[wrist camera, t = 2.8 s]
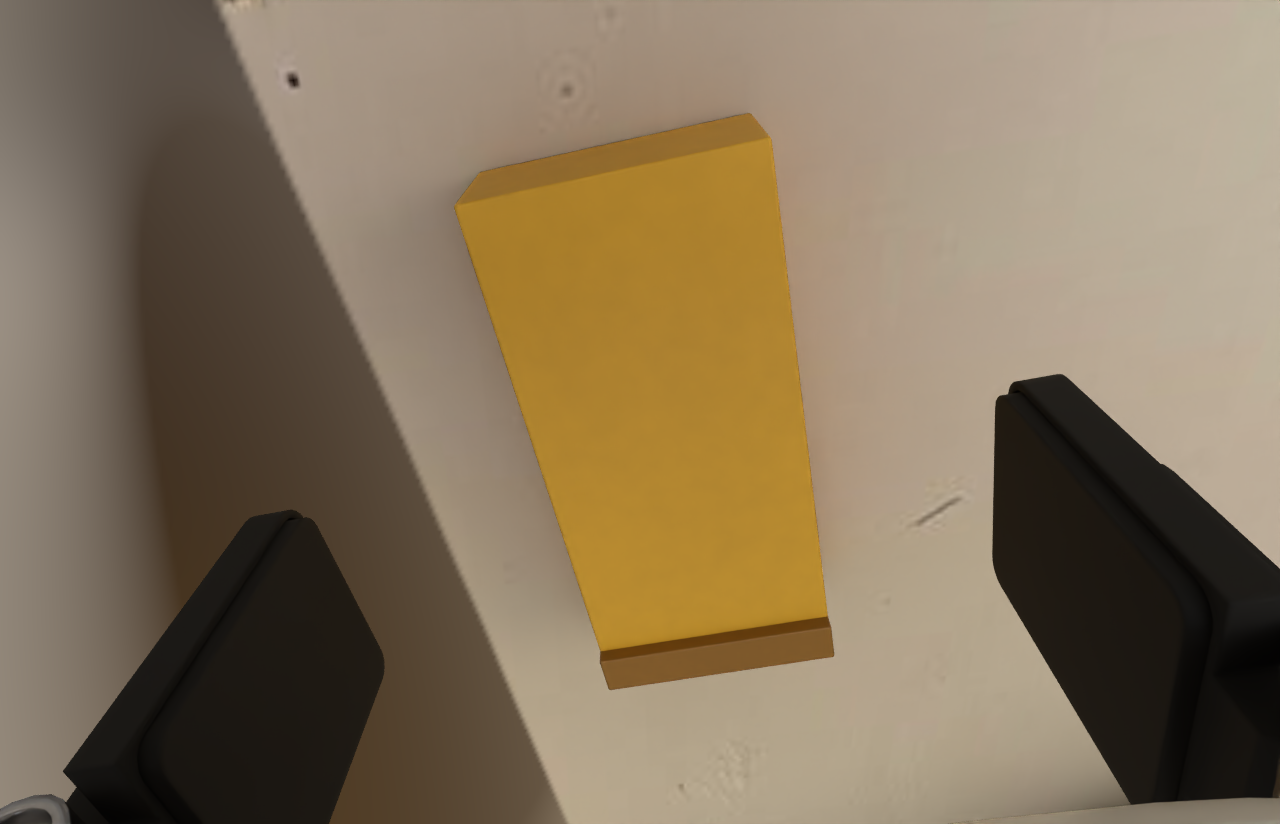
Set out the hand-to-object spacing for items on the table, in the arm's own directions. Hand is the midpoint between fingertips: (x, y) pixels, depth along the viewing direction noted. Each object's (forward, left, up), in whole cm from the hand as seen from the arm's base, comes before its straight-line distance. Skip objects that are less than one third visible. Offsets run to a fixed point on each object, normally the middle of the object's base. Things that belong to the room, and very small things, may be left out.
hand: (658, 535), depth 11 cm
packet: (+2, -3, -10) cm, 11 cm away
